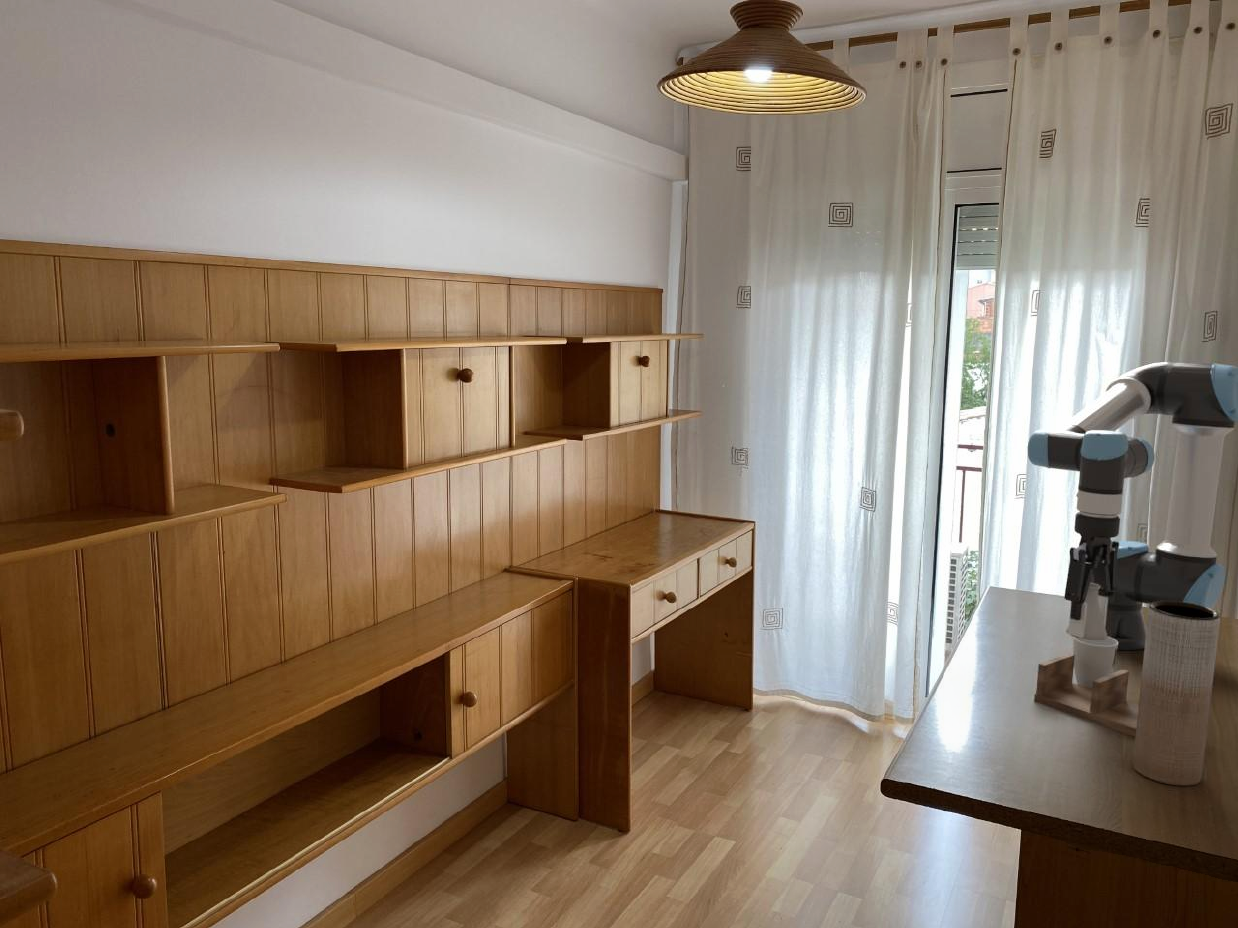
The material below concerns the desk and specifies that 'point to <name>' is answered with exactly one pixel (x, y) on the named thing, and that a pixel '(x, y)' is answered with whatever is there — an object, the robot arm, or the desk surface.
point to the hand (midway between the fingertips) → (1086, 631)
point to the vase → (1175, 692)
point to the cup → (1093, 659)
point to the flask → (1093, 616)
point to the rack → (1087, 695)
